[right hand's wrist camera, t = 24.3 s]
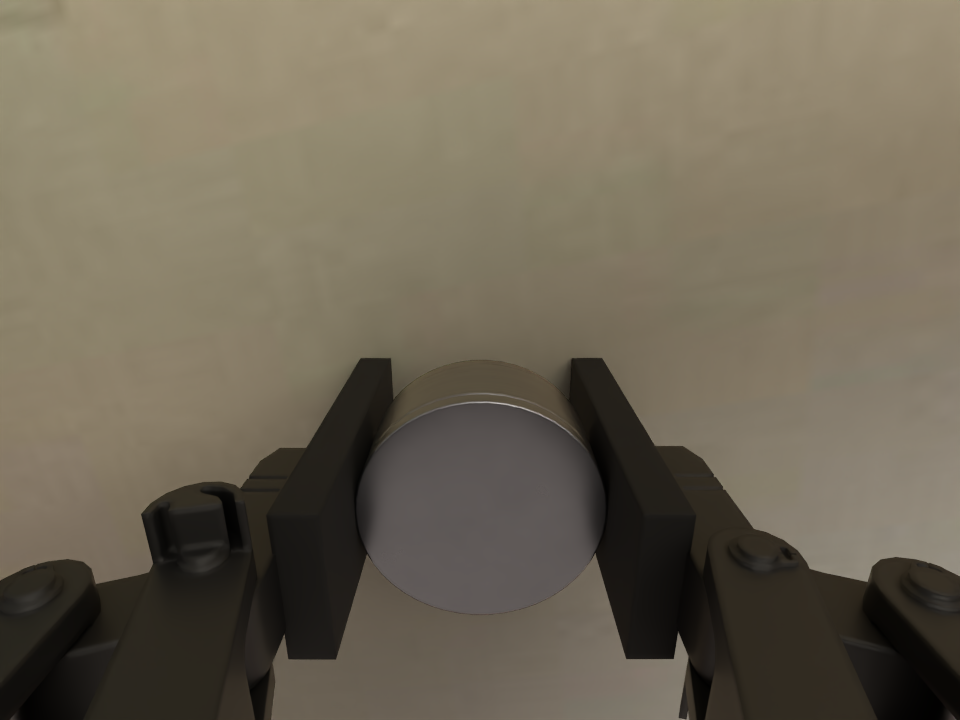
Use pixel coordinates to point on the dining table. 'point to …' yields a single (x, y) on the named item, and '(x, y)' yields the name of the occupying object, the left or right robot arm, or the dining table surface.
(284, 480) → the right robot arm
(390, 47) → the dining table surface
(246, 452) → the dining table surface
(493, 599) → the lid
